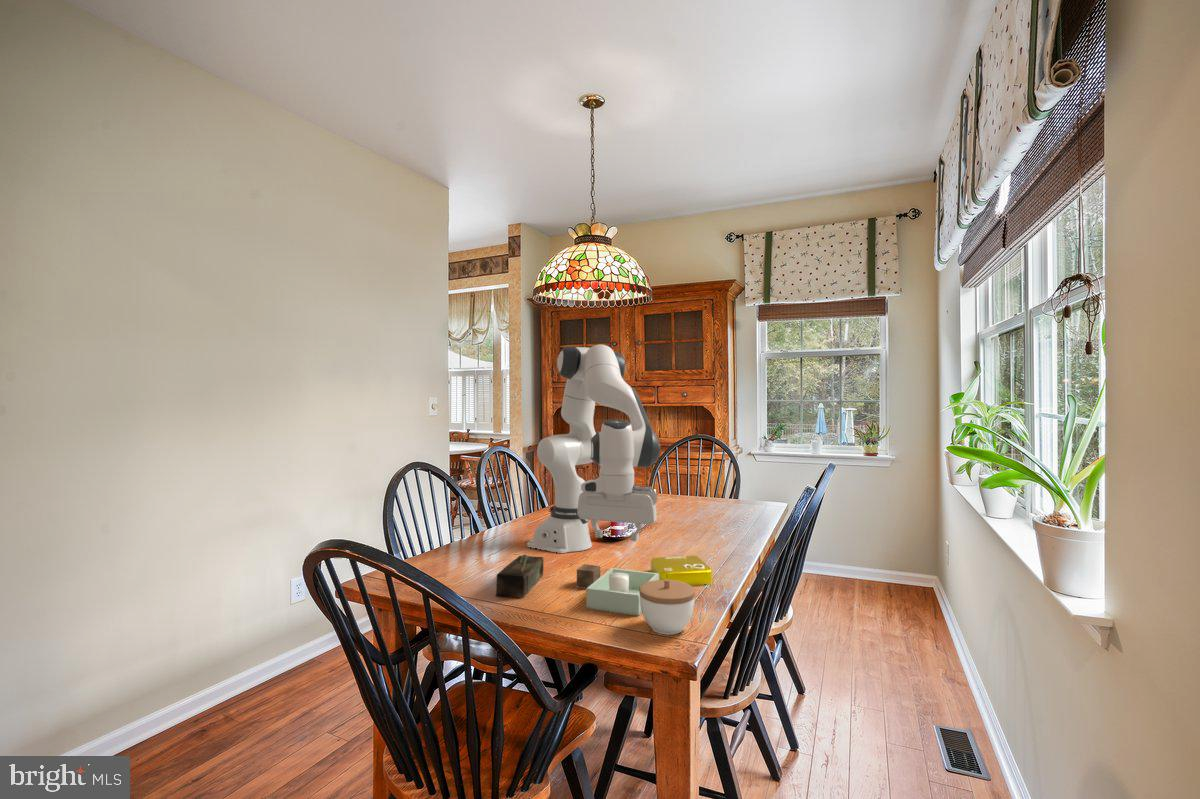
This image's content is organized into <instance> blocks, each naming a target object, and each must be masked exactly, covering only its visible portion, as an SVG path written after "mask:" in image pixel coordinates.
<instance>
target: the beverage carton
mask: <svg viewBox="0 0 1200 799" xmlns="http://www.w3.org/2000/svg"><path fill="white" fill-rule="evenodd" d="M543 575H544V557H542V556H531V555H528V554H522V555H519V556H518V557H516V558H515V559H514V560H512V561H511V562H510V563H509V564H508V565H506V566H504V568H502V569H501V570H500V571H499V572H498V573H497V574H496V591H495V592H496V595H495V596H496V597H500V596H501V597H502V598H510V597H513V598H512V599H520V598H522V599H524V598H525V596H526V595H528V593H529V592H530V591H531V590H532V589H533V588H534V587H533V586H536V585H537V583H538V582H540V580H541V579H540V578H543ZM539 579H540V580H539ZM501 597H500V598H501Z"/></svg>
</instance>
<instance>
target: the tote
mask: <svg viewBox="0 0 1200 799" xmlns="http://www.w3.org/2000/svg"><path fill="white" fill-rule="evenodd" d="M618 572H619V573H626V574H628V575H629V593H626V592H618V591H611V590H609V575H610V574H611V573H618ZM655 580H659V574H658V573H651V571H641V570H640V571H639V570H634V569H633V570H632V569H626V568H625V569H624V568H616V567H611V568H610V569H608V570H607V571H606V572H605V573H604V574H602V575H600V578H599V579H597V580H596V581H595V582H594V583H593V584H591V585H590V586H589V587H588V588H586V609H588V608H589V610H595V609H596V611H603V612H608V611H609V613H615V614H616V613H617V614H622V615H629V616H635V617H639V616H640V615H642V611H641V605H640V593H639V588H640V586H641V585H642V584H644V583H646V582H650V581H655Z"/></svg>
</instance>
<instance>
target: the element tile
mask: <svg viewBox="0 0 1200 799" xmlns="http://www.w3.org/2000/svg"><path fill="white" fill-rule="evenodd" d="M650 573H658V574H659V580H666V579H667V580H675V581H680V582H684V583H687V584H689V585H696V586H705V585H704V584H709V585H712V584H711V583H713V569H712V568H711V567H710V566H709V565H708V564H707V563H706V562H705V561H704V560H703V559H702V558H701V557H699V556H698V555H686V556H685V555H684V556H683V555H682V556H680V555H679V556H678V555H677V556H666V557H665V556H664V557H663V556H662V557H652V558H651V560H650Z"/></svg>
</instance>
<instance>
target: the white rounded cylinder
mask: <svg viewBox="0 0 1200 799" xmlns="http://www.w3.org/2000/svg"><path fill="white" fill-rule="evenodd" d="M609 590H611V591H618V592H626V593H629V575H628V574H626V573H619V572H618V573H611V574H610V575H609Z"/></svg>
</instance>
